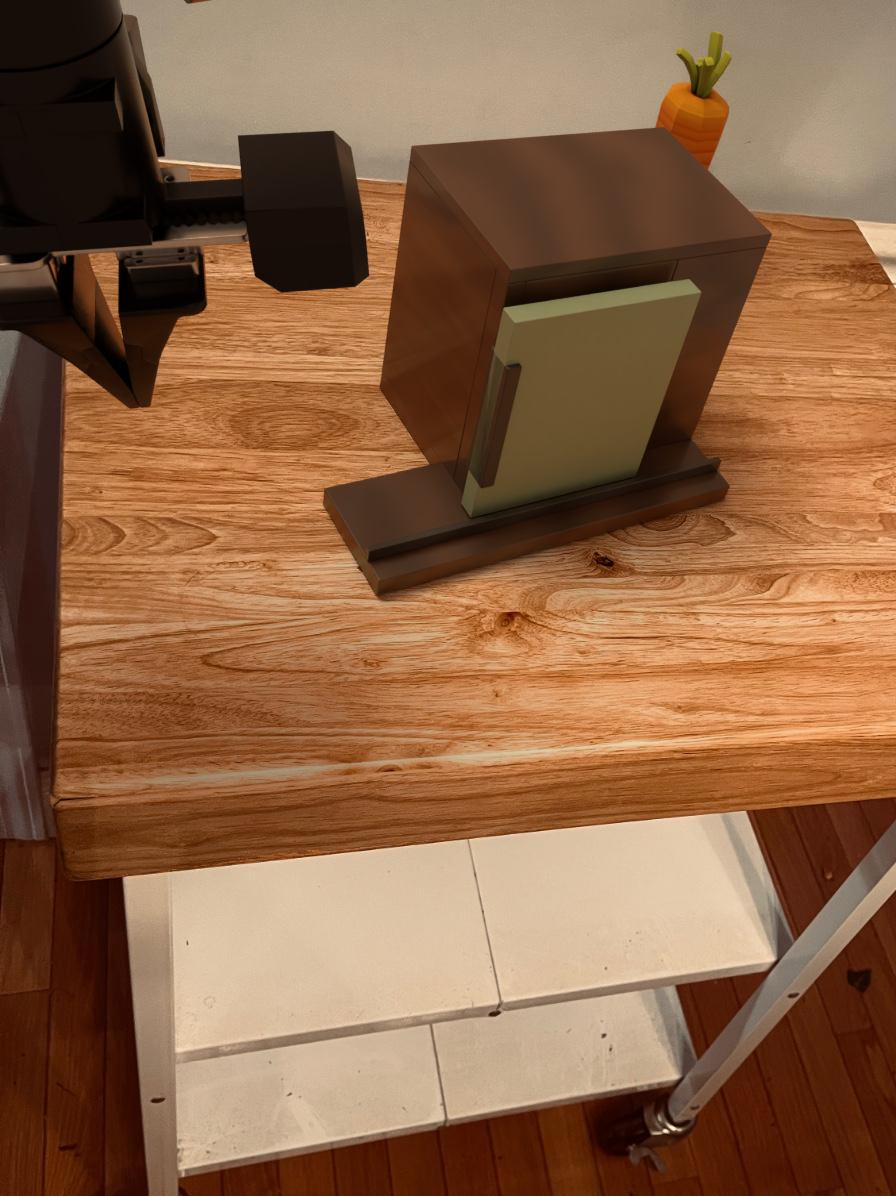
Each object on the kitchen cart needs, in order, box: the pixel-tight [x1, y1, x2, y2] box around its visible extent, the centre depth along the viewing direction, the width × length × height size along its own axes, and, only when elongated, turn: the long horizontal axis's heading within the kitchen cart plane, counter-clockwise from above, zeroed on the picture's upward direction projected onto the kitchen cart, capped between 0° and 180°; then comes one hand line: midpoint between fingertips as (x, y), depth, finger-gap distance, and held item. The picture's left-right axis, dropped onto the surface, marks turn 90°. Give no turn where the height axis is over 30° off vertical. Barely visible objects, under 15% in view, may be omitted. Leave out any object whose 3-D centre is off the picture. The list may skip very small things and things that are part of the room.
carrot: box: [654, 30, 733, 171], centre depth 85 cm, size 5×5×15 cm
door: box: [462, 279, 701, 518], centre depth 63 cm, size 11×2×13 cm, turn 123°
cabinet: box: [322, 127, 773, 597], centre depth 64 cm, size 23×15×16 cm, turn 123°
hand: (140, 400), depth 48 cm, fingers closed
